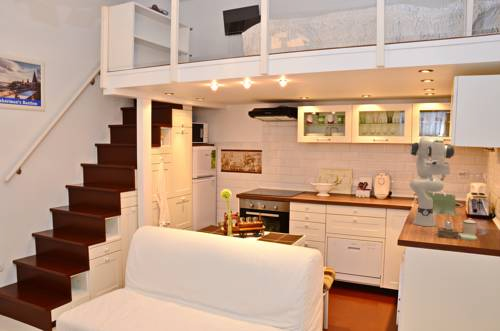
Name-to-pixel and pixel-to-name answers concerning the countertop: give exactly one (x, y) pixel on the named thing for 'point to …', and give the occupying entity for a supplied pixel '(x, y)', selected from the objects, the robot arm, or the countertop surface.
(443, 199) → the grocery bag
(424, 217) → the robot arm
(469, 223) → the teacup with lid
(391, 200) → the countertop surface
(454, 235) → the pocket block
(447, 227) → the peg
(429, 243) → the countertop surface
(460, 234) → the tray
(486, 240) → the countertop surface
